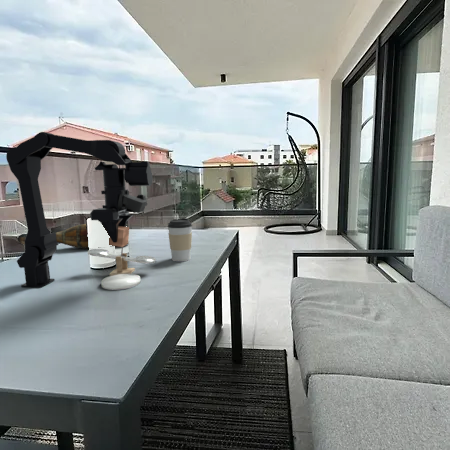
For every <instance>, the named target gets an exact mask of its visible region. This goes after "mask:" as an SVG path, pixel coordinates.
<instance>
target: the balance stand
mask: <svg viewBox="0 0 450 450" xmlns="http://www.w3.org/2000/svg"><path fill="white" fill-rule="evenodd" d="M127 254H128V253H126V252H123V254H122V256H123V255H124V256H125V257H128V255H127ZM122 256H121V255H118V256H116V259H115V262H116V269H114V270H112V271H110V273H109V276H113V275H118V274H133V272H135V271H136V268H135V267H128V261H125V260H122Z"/></svg>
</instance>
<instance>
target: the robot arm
mask: <svg viewBox="0 0 450 450" xmlns="http://www.w3.org/2000/svg"><path fill="white" fill-rule="evenodd" d="M52 149H57V150H64V151H70V152H76V153H81V154H85V155H86V154H87V155H88V156H92V157H94V158H96V159H98V160H101V161H99V163H98V165H96V166H95V167H94V170H95V171H102V179H103V190H101V191H100V192H101V195H104V205H102V206H101V207H100V208H99V207H98V208H95V209H92V210H91V212H90V213H89V214H90V220H91V221H98V222H100V224H102V225H103V227H104V228H105V230H106V231H107V233H108V235H109V236H110V238H111V240H112V241H113V242H117V239H118V226H123V227H126V226H127V224H128V221H129V220H130V219H131V218H132V217H133V216H134V214H135V213H136V214H141V213H143V212H144V211H145V209H146V208H145V207H147V206H148V203H147V202H148V200H147V197H146V195H145V194H137V196H136V195H131V194H130V191H129V189H126V184H128V185H129V187H151V186H152V185H153V172H152V169H151V166H150V161H145V160H144V161H138V162H134V161H133V160H132V159H131V158H130V157H129V156H128V155H127V153H126V149H125V147H124V145H123V144H122V143H121V142H119V141H115V140H110V139H95V140H94V139H93V140H86V139H81V138H76V137H75V138H74V137H69V136H64V135H58V134H54V133H51V132H47V131H40V132H39V133H37V134H36V135H34V136H33V137H31V138H29V139H27V140H25V141H23V142H21V143H19V144H18V145H17V146H13V147H11V148H10V149H9V150H8V151H7V152H6V156H5V157H6V162H7V164H8V167H9V169H10V171H11V173H12V174H13V175H14V177H15V178H16V180H17V182H18V187H19V191H20V196H21V202H22V207H23V212H24V217H25V222H26V227H27V232H26V234H27V235H26V238H25V244H24V252H23V253H22V255H21V256H20V257H19V258H18V259H17V260H16V263H17V265H18V267H19V268H20V269H23V270H24V278H25V283H23V284H21V285H20V286H21V287H22V288H43V287H45V286H47V285H49V284H51V283H53V282H54V281H55V278H51V274H50V266H49V261H52V259H53V255H54V254H55V253H56V251H57V249H58V248H57V246H59V243H57V240H56V233H57V232H56V231H54V232H51V231H50V230H49V228H48V226H47V222H46V218H45V217H46V216H45V211H44V210H45V209H44V206H43V200H42V195H41V191H40V190H41V189H40V183H39V176H40V173H41V169H42V161H43V159H44V158H46V157H47V156H48V154H49V153H50V152H51V151H52ZM104 161H105V162H104ZM106 162H109V164H108V163H106ZM110 163H111V164H110ZM118 166H125V167H118ZM130 213H134V214H130Z"/></svg>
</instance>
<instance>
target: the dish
mask: <svg viewBox="0 0 450 450" xmlns="http://www.w3.org/2000/svg"><path fill="white" fill-rule="evenodd" d="M141 281H142V280H141V276H140V275H138V274H135V273H131V274H118V275H113V276H110V275H109V276H106V277H105V278H102V280H101V281H100V282H101V288H103V289H104V290H109V291H119V290H126V289H131V288H134V287H136V286H138V285H139V284H141Z"/></svg>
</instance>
